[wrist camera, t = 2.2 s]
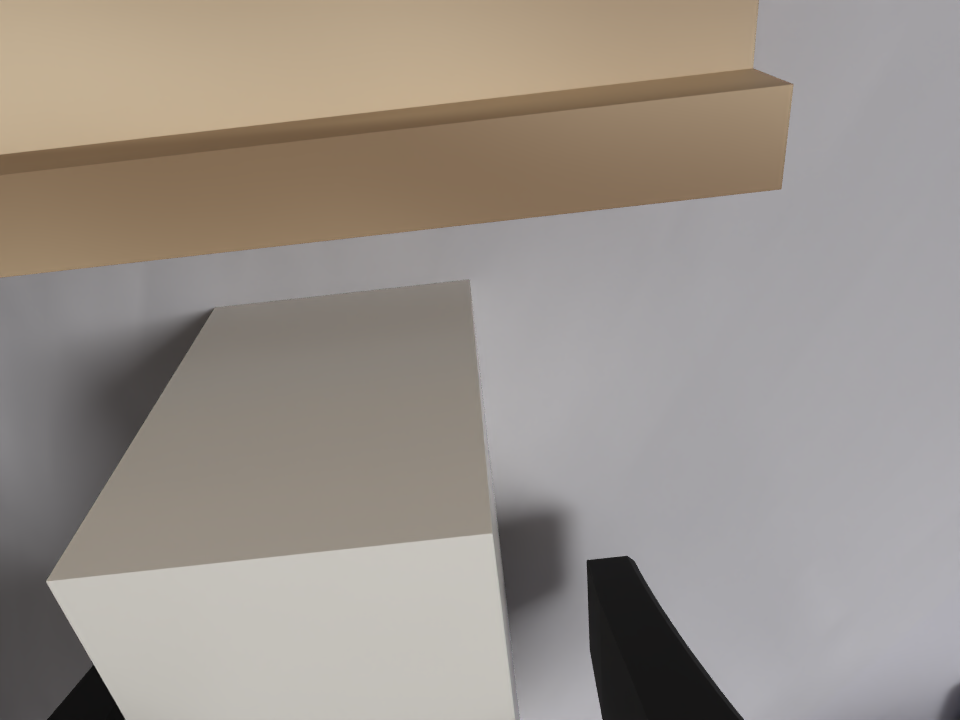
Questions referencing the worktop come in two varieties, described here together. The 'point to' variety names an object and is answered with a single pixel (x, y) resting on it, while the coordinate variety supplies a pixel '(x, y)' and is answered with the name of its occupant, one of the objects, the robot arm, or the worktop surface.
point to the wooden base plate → (363, 118)
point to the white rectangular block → (305, 524)
